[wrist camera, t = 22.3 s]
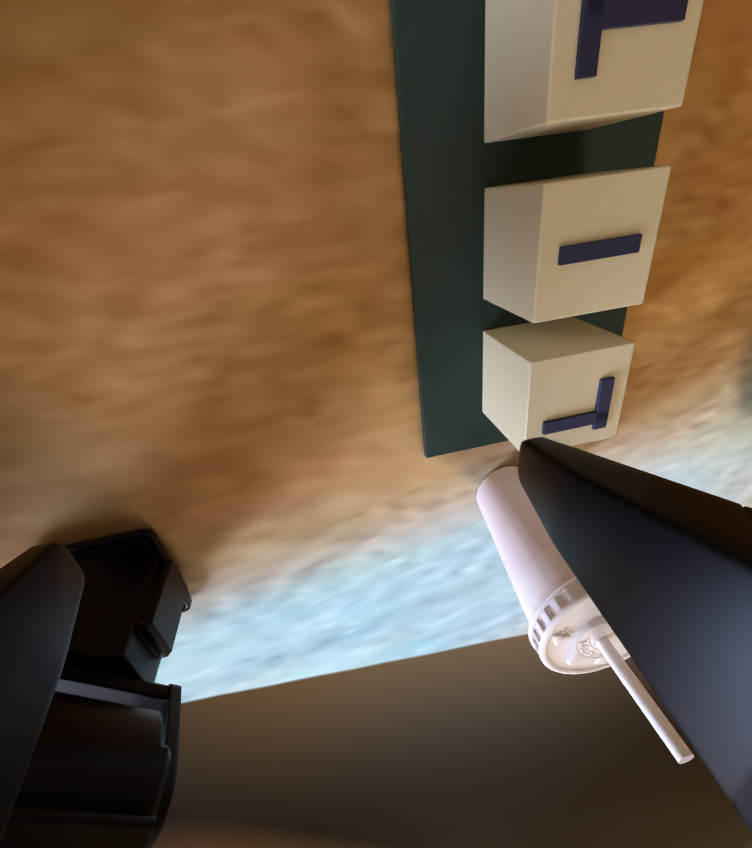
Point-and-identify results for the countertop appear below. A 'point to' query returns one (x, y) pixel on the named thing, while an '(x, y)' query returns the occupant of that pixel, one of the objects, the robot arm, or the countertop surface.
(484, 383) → the tile
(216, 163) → the countertop surface
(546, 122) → the tile
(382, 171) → the countertop surface
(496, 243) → the tile
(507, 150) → the word mat
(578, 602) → the smoothie
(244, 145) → the countertop surface
